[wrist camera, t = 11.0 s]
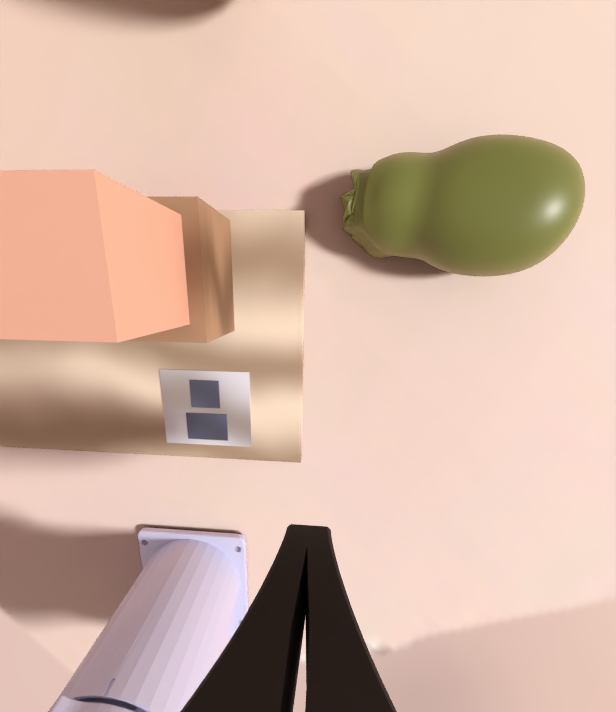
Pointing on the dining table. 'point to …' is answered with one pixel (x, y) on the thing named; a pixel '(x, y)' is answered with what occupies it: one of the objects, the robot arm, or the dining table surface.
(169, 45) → the dining table surface
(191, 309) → the base block
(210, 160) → the dining table surface
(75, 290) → the top block
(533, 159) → the pear
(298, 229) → the build board
